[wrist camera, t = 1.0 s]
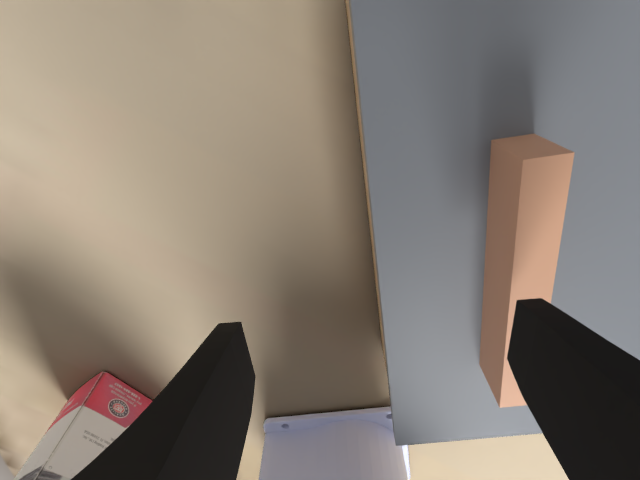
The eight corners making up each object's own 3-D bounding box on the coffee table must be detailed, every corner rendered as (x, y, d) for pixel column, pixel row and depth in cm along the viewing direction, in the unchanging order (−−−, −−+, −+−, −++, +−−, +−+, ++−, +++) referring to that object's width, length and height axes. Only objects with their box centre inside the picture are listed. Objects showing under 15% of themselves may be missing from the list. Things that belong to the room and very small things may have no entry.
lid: (393, 430, 18) (403, 491, 16) (346, -28, 10) (352, -49, 7) (714, 401, 17) (779, 462, 15) (976, -148, 9) (1236, -221, 6)
